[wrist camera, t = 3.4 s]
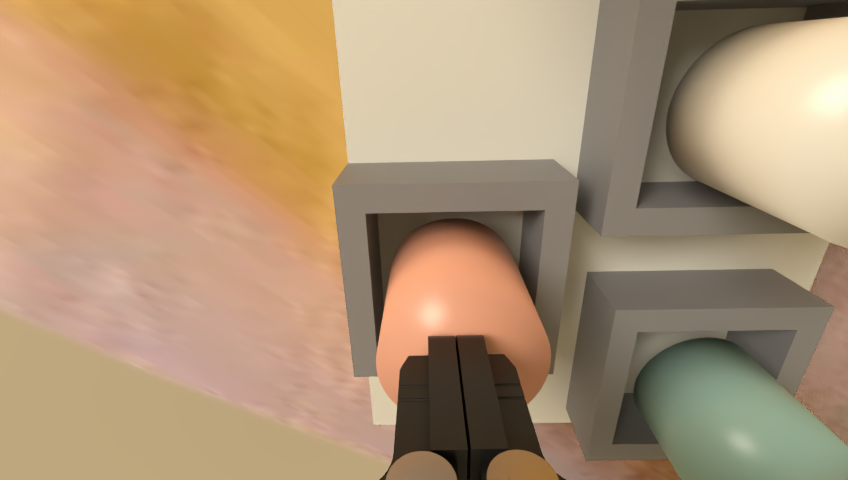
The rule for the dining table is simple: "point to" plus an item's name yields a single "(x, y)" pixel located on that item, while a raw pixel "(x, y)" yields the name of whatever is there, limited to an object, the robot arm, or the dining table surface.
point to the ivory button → (771, 122)
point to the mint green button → (732, 418)
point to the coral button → (459, 302)
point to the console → (566, 189)
